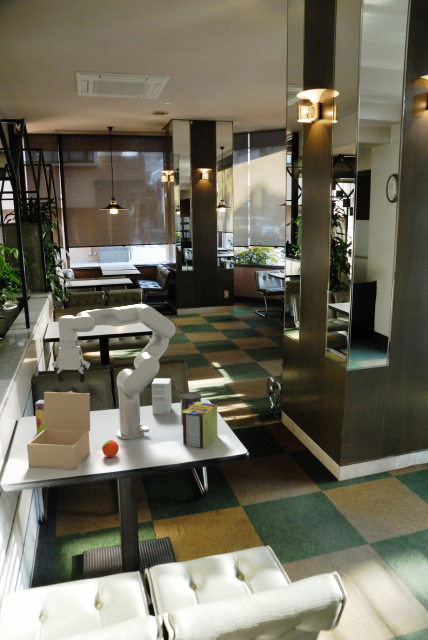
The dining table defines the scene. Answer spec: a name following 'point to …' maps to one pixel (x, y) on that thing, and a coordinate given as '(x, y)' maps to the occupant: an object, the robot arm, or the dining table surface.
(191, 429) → the protein box
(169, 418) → the dining table surface
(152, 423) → the dining table surface
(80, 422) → the lid flap
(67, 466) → the carton
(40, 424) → the snack box
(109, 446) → the clementine
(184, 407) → the coffee can
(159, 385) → the supplement box
